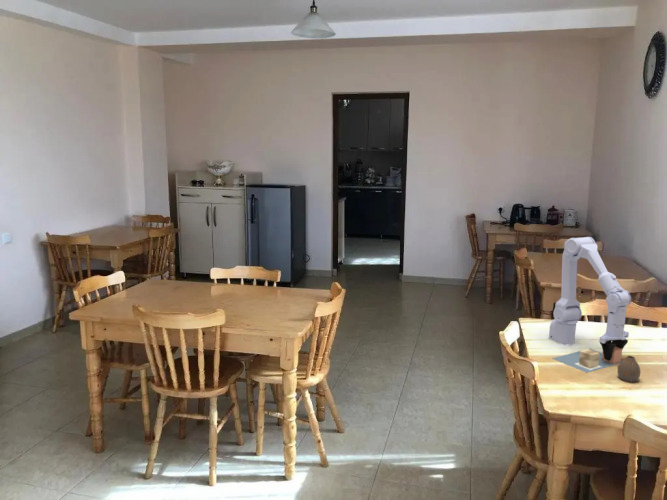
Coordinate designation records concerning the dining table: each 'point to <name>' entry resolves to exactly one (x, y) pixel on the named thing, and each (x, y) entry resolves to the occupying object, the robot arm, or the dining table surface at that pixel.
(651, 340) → the dining table surface
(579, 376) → the dining table surface
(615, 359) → the terracotta block
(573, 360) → the build board
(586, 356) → the maple block
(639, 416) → the dining table surface
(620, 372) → the vase
